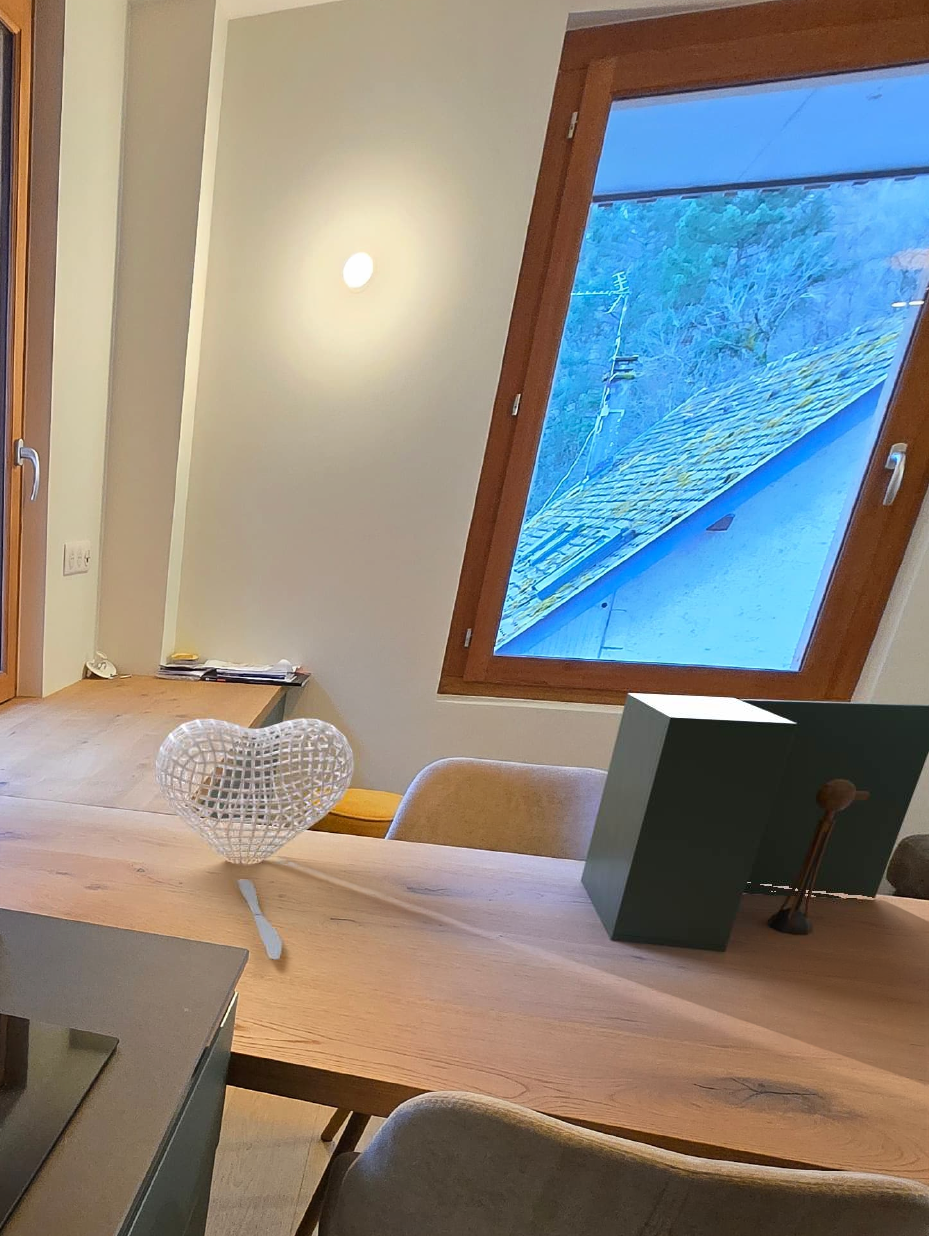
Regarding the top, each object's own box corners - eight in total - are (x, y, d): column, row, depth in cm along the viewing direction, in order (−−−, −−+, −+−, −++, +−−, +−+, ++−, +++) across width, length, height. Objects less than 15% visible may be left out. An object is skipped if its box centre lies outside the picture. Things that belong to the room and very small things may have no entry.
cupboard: (675, 900, 142) (734, 697, 131) (723, 956, 122) (797, 723, 112) (578, 890, 145) (627, 693, 135) (609, 943, 126) (670, 717, 115)
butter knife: (258, 878, 144) (236, 876, 144) (289, 960, 120) (264, 957, 120) (257, 882, 144) (236, 880, 144) (289, 964, 120) (263, 962, 120)
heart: (324, 851, 161) (344, 708, 151) (350, 886, 147) (373, 731, 137) (145, 850, 163) (154, 709, 154) (154, 884, 149) (164, 731, 140)
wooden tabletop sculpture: (802, 927, 130) (858, 773, 122) (827, 942, 126) (887, 784, 118) (754, 927, 131) (806, 774, 122) (778, 942, 127) (834, 784, 118)
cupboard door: (663, 886, 147) (718, 693, 136) (841, 898, 143) (912, 699, 132) (683, 901, 141) (742, 699, 130) (869, 913, 136) (946, 706, 126)
